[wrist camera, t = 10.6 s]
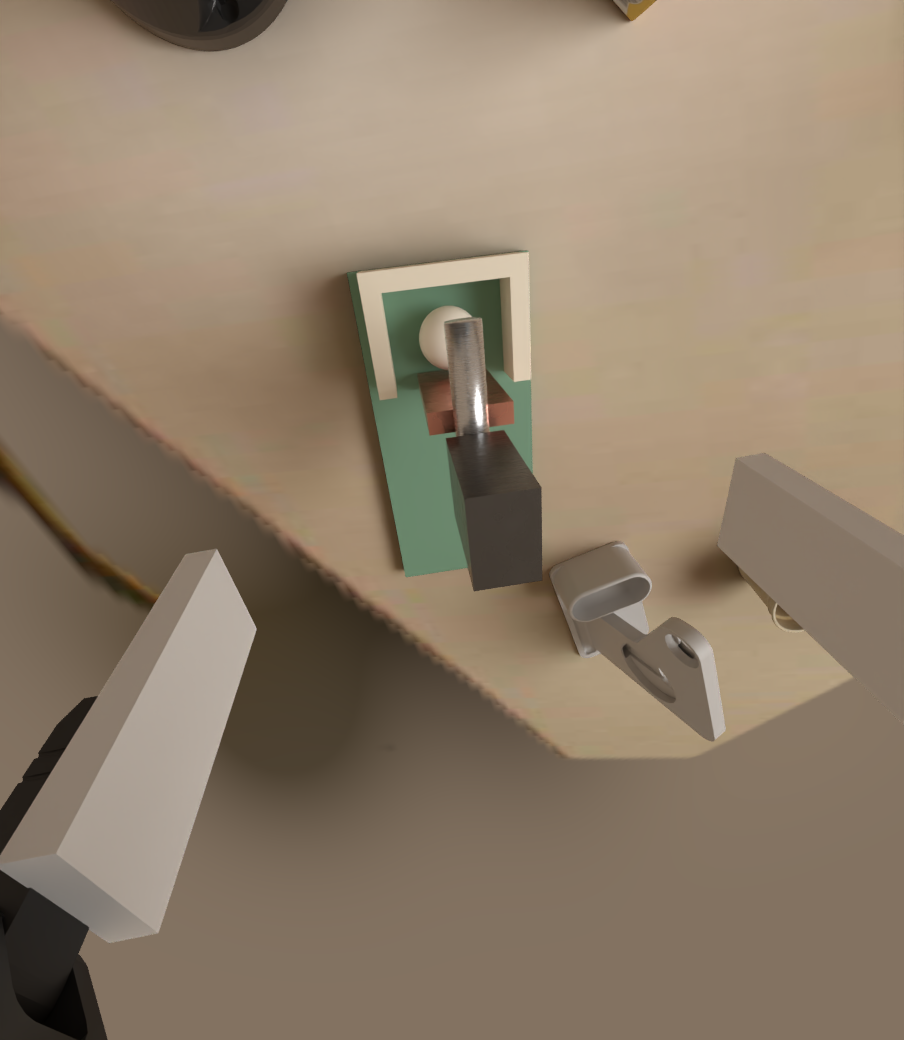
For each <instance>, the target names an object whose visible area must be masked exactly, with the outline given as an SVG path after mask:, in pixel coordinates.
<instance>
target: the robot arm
mask: <svg viewBox="0 0 904 1040" xmlns="http://www.w3.org/2000/svg"><path fill="white" fill-rule="evenodd" d="M111 1H112V2H113V3H114V4H115V5H116V6H117V7H118V8H120V9H121V10H122V11H123V12H124V13H125V14H126V15H127V16H129V17H130V18H131V19H132V20H134V21H135V22H136V23H138V24H139V25H140V26H142V27H143V28H145V29H146V30H148V31H150V32H151V33H153V34H155V35H156V36H158V37H160V38H162V39H164V40H166V41H169V42H171V43H173V44H176V45H179V46H182V47H186V48H190V49H196V50H204V51H218V50H225V49H230V48H234V47H237V46H240V45H242V44H244V43H246V42H248V41H250V40H252V39H253V38H255V37H257V36H258V35H259V34H261V33H262V32H263V31H264V30H265V29H266V28H267V27H268V26H269V25H270V24H271V23H272V22H273V21H274V20H275V19H276V17H277V16H278V14H279V13H280V12H281V10H282V9H283V7H284V5H285V3H286V2H287V0H111ZM717 546H718V547H719V548H720V549H721V550H722V551H723V552H724V553H725V554H726V555H727V556H728V557H729V558H730V559H731V560H732V561H733V562H734V563H735V564H737V565H738V566H739V567H740V568H741V569H742V570H743V571H744V572H745V573H746V574H747V575H748V576H749V577H750V578H751V579H752V580H753V581H754V582H755V583H756V584H757V585H758V586H759V587H760V588H761V589H762V590H764V591H765V592H766V593H767V594H768V595H769V596H770V597H771V598H772V599H773V600H774V601H775V602H776V603H777V604H778V605H779V606H780V607H781V608H782V609H783V610H784V611H785V612H786V613H787V614H788V615H790V616H791V617H792V618H793V619H794V620H795V621H796V622H797V623H798V624H799V625H800V626H801V627H802V628H803V629H804V630H805V631H806V632H807V633H808V634H809V635H810V636H811V637H812V638H813V639H814V640H815V641H817V642H818V643H819V644H820V645H821V646H822V647H823V648H824V649H825V650H826V651H827V652H828V653H829V654H830V655H831V656H832V657H833V658H834V659H835V660H836V661H837V662H838V663H839V664H840V665H841V666H843V667H844V668H845V669H846V670H847V671H848V672H849V673H850V674H851V675H852V676H853V677H854V678H855V679H856V680H857V681H858V682H859V683H860V684H861V685H863V687H864V688H866V690H867V691H869V692H870V693H871V694H872V695H873V696H874V697H875V698H876V699H877V700H878V701H879V702H880V703H881V704H882V705H883V706H884V707H885V708H886V709H887V710H888V711H889V712H890V713H891V714H892V715H893V716H894V717H896V718H897V719H898V720H899V721H900V722H901V723H902V724H903V725H904V535H902V534H901V533H899V532H897V531H895V530H894V529H892V528H890V527H889V526H887V525H885V524H884V523H882V522H880V521H879V520H877V519H875V518H874V517H872V516H870V515H869V514H867V513H865V512H864V511H862V510H860V509H858V508H857V507H855V506H853V505H852V504H850V503H848V502H847V501H845V500H843V499H842V498H840V497H838V496H837V495H835V494H833V493H832V492H830V491H828V490H827V489H825V488H823V487H822V486H820V485H818V484H816V483H815V482H813V481H811V480H810V479H808V478H806V477H805V476H803V475H801V474H800V473H798V472H796V471H795V470H793V469H791V468H790V467H788V466H786V465H785V464H783V463H781V462H779V461H778V460H776V459H774V458H773V457H771V456H769V455H768V454H766V453H762V454H756V455H750V456H745V457H739V458H736V460H735V464H734V469H733V474H732V478H731V483H730V488H729V492H728V497H727V502H726V507H725V511H724V516H723V521H722V525H721V530H720V535H719V539H718V544H717ZM255 632H256V627H255V625H254V622H253V620H252V618H251V616H250V615H249V613H248V611H247V608H246V606H245V604H244V602H243V601H242V598H241V597H240V594H239V593H238V590H237V588H236V586H235V584H234V582H233V580H232V578H231V576H230V574H229V572H228V570H227V568H226V566H225V564H224V562H223V560H222V558H221V556H220V554H219V552H218V550H217V549H213V550H208V551H202V552H196V553H190V554H185V556H184V557H183V559H182V561H181V562H180V564H179V566H178V567H177V569H176V570H175V572H174V574H173V575H172V577H171V579H170V580H169V582H168V584H167V585H166V587H165V588H164V590H163V592H162V593H161V595H160V596H159V598H158V600H157V601H156V603H155V605H154V606H153V608H152V609H151V611H150V613H149V614H148V616H147V618H146V619H145V621H144V622H143V624H142V626H141V627H140V629H139V631H138V632H137V634H136V636H135V637H134V639H133V640H132V642H131V644H130V645H129V647H128V648H127V650H126V652H125V653H124V655H123V657H122V658H121V660H120V661H119V663H118V665H117V666H116V668H115V670H114V671H113V673H112V675H111V676H110V678H109V679H108V681H107V683H106V684H105V686H104V687H103V689H102V691H101V692H100V694H99V696H95V697H90V698H84V699H83V700H82V701H81V702H80V703H79V704H78V705H77V706H76V707H75V708H74V709H73V710H72V711H71V712H70V713H69V714H68V715H66V717H64V718H63V719H62V720H61V721H60V722H59V723H58V724H57V726H56V727H55V729H54V730H53V732H52V733H51V735H50V736H49V738H48V739H47V741H46V742H45V744H44V745H43V747H42V748H41V750H40V751H39V753H38V754H39V757H38V758H36V759H34V760H33V762H32V763H31V765H30V766H29V768H28V769H27V771H26V772H25V774H24V776H23V781H22V783H18V784H17V786H16V787H15V789H14V791H13V792H12V794H11V795H10V796H9V798H8V800H7V801H6V802H5V804H4V805H3V807H2V809H1V810H0V1040H107V1036H106V1032H105V1029H104V1025H103V1022H102V1018H101V1014H100V1010H99V1007H98V1003H97V999H96V996H95V992H94V989H93V985H92V981H91V978H90V975H89V970H88V967H87V965H86V963H85V962H84V960H83V959H82V958H81V956H80V955H78V953H79V951H80V948H81V946H82V944H83V941H84V939H85V937H86V934H87V932H88V930H90V931H92V932H94V933H95V934H96V935H98V936H99V937H101V938H102V939H104V940H105V941H107V942H108V943H112V942H117V941H122V940H127V939H132V938H137V937H142V936H147V935H152V934H157V933H158V932H159V929H160V926H161V923H162V920H163V917H164V914H165V910H166V907H167V904H168V901H169V898H170V895H171V892H172V889H173V886H174V883H175V880H176V876H177V873H178V870H179V867H180V864H181V861H182V858H183V855H184V852H185V849H186V846H187V842H188V839H189V836H190V833H191V830H192V827H193V824H194V821H195V818H196V815H197V812H198V808H199V806H200V802H201V799H202V796H203V793H204V790H205V787H206V783H207V780H208V778H209V775H210V772H211V768H212V765H213V762H214V759H215V756H216V753H217V750H218V747H219V744H220V741H221V737H222V734H223V731H224V728H225V725H226V722H227V719H228V716H229V712H230V710H231V707H232V703H233V700H234V697H235V694H236V691H237V688H238V685H239V682H240V679H241V676H242V673H243V670H244V666H245V663H246V660H247V657H248V654H249V651H250V648H251V645H252V642H253V638H254V635H255Z"/></svg>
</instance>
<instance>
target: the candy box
mask: <svg viewBox="0 0 904 1040" xmlns="http://www.w3.org/2000/svg"><path fill="white" fill-rule="evenodd" d="M613 1H614V2H615V3H616V4H617V5H618V7H619V8H620V9H621V10H622V11H623V12H624V13H625V15H626V16H627V17H628V18H629V19H630V20H631V21H633V20H635V19H636V18H637V17H638V16H639V15H641V14H642V13H643V12H644V11H645V10H646V9H647V8H649V7H650V6H651V5H652V4H653V3H654V2H655V1H656V0H613Z"/></svg>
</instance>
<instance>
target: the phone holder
mask: <svg viewBox="0 0 904 1040" xmlns="http://www.w3.org/2000/svg"><path fill="white" fill-rule="evenodd" d="M549 576H550V579H551V581H552V584H553V587H554V589H555V592H556V594H557V597H558V600H559V602H560V605H561V608H562V610H563V613H564V615H565V618H566V621H567V623H568V626H569V629H570V631H571V634H572V636H573V639H574V642H575V644H576V647H577V650H578V652H579V654H580V656H581V657H583V658H590V657H593V656H596V655H599V654H602V655H604V656H605V657H606V658H607V659H608V660H610V661H611V662H612V663H613V664H614V665H616V666H617V667H618V668H619V669H621V670H622V671H623V672H624V673H625V674H627V675H628V676H629V677H630V678H631V679H633V680H634V681H635V682H636V683H637V684H639V685H640V686H641V687H642V688H644V689H645V690H646V691H647V692H648V693H650V694H651V695H652V696H653V697H654V698H656V699H657V700H658V701H659V702H661V703H662V704H663V705H664V706H665V707H667V708H668V709H669V710H670V711H671V712H673V713H674V714H675V715H676V716H678V717H679V718H680V719H681V720H682V721H684V722H685V723H686V724H687V725H688V726H690V727H691V728H692V729H693V730H695V731H696V732H697V733H698V734H699V735H701V736H702V737H703V738H705V739H707V740H709V741H714V740H715V739H716V738H718V737H719V736H720V735H721V734H722V733H723V732H724V731H725V722H724V716H723V709H722V703H721V697H720V690H719V684H718V678H717V672H716V666H715V660H714V654H713V650H712V648H711V646H710V644H709V643H708V641H707V640H706V639H705V637H704V636H703V635H702V634H701V633H700V632H699V631H698V630H696V629H695V628H694V627H692V626H691V625H689V624H687V623H686V622H684V621H683V620H681V619H679V618H676V617H671V618H669V619H668V620H667V621H665V622H664V623H663V624H661V625H660V626H659V627H657V628H656V629H655V630H653V631H652V632H651V633H649V634H647V633H648V631H649V627H648V623H647V619H646V615H645V611H644V608H643V604H642V600H644V599H645V598H646V597H647V596H648V595H649V593H650V591H651V588H652V582H651V579H650V578H649V576H648V575H647V574H646V573H645V571H644V570H643V569H642V568H641V566H640V565H639V564H638V563H637V561H636V560H635V559H634V558H633V556H632V555H631V554H630V553H629V549H628V547H627V546H626V545H625V544H624V543H623V542H621V541H615V542H612V543H610V544H607V545H605V546H602V547H600V548H597V549H595V550H592V551H589V552H587V553H584V554H582V555H579V556H577V557H574V558H572V559H569V560H567V561H564V562H562V563H559V564H557V565H555V566H554V567H553V568H552V569H551V570H550V573H549Z"/></svg>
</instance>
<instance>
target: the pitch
mask: <svg viewBox="0 0 904 1040" xmlns="http://www.w3.org/2000/svg"><path fill="white" fill-rule="evenodd" d="M347 276H348V281H349V286H350V292H351V297H352V302H353V307H354V312H355V318H356V323H357V328H358V333H359V338H360V343H361V349H362V354H363V359H364V364H365V369H366V374H367V380H368V385H369V390H370V395H371V400H372V405H373V411H374V416H375V421H376V426H377V431H378V436H379V442H380V447H381V452H382V457H383V462H384V467H385V473H386V478H387V483H388V488H389V493H390V499H391V504H392V509H393V514H394V519H395V524H396V530H397V535H398V540H399V545H400V550H401V555H402V561H403V566H404V571H405V576H406V577H411V576H417V575H424V574H430V573H437V572H443V571H449V570H456V569H462V568H468V566H467V562H466V558H465V554H464V550H463V546H462V543H461V539H460V535H459V531H458V527H457V523H456V519H455V514H454V506H453V497H452V489H451V480H450V472H449V463H448V455H447V446H446V438H450V437H456V435H455V432H452V433H445V434H438V435H431V436H430V435H429V431H428V426H427V422H426V417H425V413H424V408H423V404H422V400H421V395H420V390H419V383H418V376H417V373H425V372H432V371H440V370H444V369H440V368H438V367H436V366H434V365H432V364H431V363H430V362H429V361H428V360H427V359H426V358H425V356H424V355H423V353H422V350H421V347H420V343H419V332H420V328H421V325H422V323H423V321H424V319H425V318H426V317H427V315H428V314H429V313H430V312H432V311H433V310H435V309H437V308H439V307H442V306H456V307H459V308H462V309H463V310H465V311H466V312H468V313H469V314H470V315H471V316H472V317H479V318H482V325H483V340H484V355H485V368H486V369H487V370H488V371H489V372H490V374H491V375H492V376H493V377H494V378H495V380H496V381H497V382H498V383H499V384H500V386H501V387H502V388H503V389H504V390H505V392H506V393H507V394H508V395H509V396H510V398H511V399H512V400H513V401H514V424H508V425H501V426H494V427H489V430H490V432H493V431H500V430H504V431H505V432H506V434H507V435H508V437H509V438H510V440H511V442H512V443H513V445H514V446H515V448H516V449H517V451H518V452H519V454H520V455H521V457H522V458H523V460H524V462H525V463H526V465H527V466H528V468H529V469H530V471H531V472H532V474H533V470H532V420H531V340H530V288H529V252H528V251H517V252H509V253H501V254H493V255H484V256H476V257H468V258H460V259H452V260H444V261H436V262H428V263H420V264H412V265H403V266H395V267H387V268H379V269H371V270H363V271H355V272H348V273H347Z"/></svg>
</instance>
